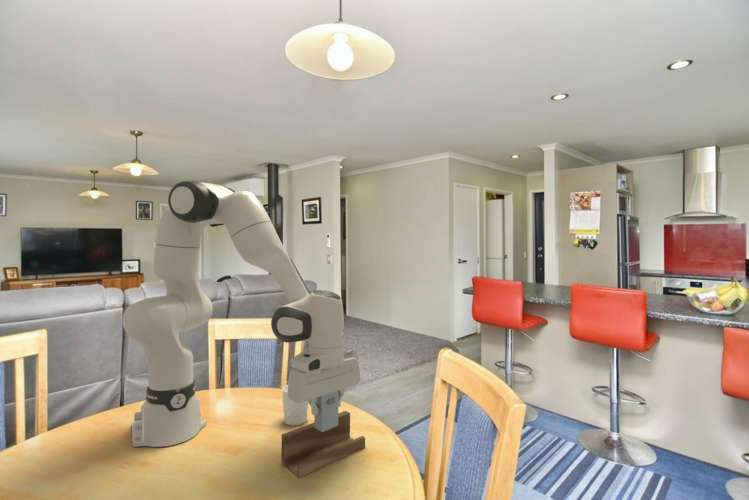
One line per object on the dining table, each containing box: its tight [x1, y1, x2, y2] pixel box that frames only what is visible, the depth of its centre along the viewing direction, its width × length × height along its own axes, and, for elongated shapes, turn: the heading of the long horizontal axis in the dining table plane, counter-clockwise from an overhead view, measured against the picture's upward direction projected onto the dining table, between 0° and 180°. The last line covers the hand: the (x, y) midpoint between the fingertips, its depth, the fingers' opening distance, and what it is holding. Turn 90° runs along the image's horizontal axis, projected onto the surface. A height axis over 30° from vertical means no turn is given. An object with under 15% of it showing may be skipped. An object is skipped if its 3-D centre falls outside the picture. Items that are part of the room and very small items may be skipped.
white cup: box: [281, 384, 309, 426], centre depth 117 cm, size 8×8×10 cm
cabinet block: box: [314, 391, 339, 432], centre depth 98 cm, size 4×5×9 cm
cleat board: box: [281, 410, 366, 479], centre depth 98 cm, size 8×20×7 cm, turn 134°
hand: (326, 410), depth 98 cm, fingers closed on cabinet block, 5 cm apart
